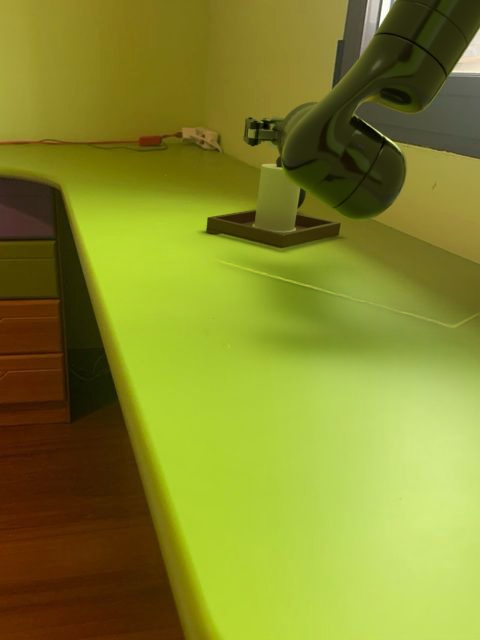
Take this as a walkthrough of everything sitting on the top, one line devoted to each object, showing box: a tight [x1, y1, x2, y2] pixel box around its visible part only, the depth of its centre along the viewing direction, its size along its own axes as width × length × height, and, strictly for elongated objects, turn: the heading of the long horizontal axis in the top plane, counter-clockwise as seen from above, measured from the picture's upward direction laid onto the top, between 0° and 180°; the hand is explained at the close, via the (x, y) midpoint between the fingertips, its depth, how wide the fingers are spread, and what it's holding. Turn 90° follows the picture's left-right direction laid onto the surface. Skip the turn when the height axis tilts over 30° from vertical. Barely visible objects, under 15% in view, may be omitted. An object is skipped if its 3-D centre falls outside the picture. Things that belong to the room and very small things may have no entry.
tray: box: [205, 209, 342, 249], centre depth 104 cm, size 16×14×2 cm
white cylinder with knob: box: [252, 155, 300, 234], centre depth 102 cm, size 7×7×11 cm
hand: (298, 129), depth 88 cm, fingers open, 8 cm apart
